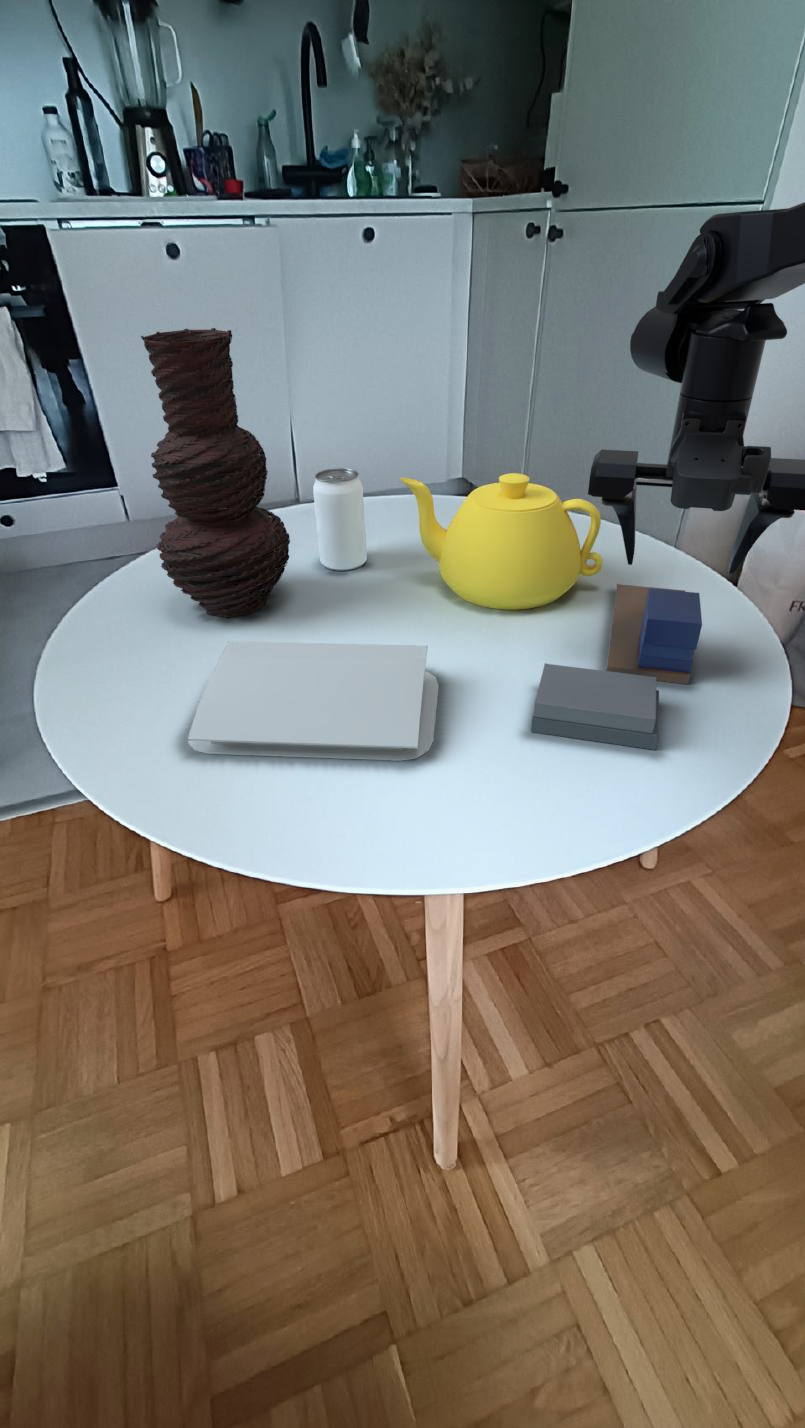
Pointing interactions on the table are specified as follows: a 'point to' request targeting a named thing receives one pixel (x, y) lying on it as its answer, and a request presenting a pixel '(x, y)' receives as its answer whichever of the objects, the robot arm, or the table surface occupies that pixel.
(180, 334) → the vase
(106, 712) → the table surface
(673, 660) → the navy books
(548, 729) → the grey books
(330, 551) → the can
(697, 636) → the navy block
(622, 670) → the board
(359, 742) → the book
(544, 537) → the teapot
